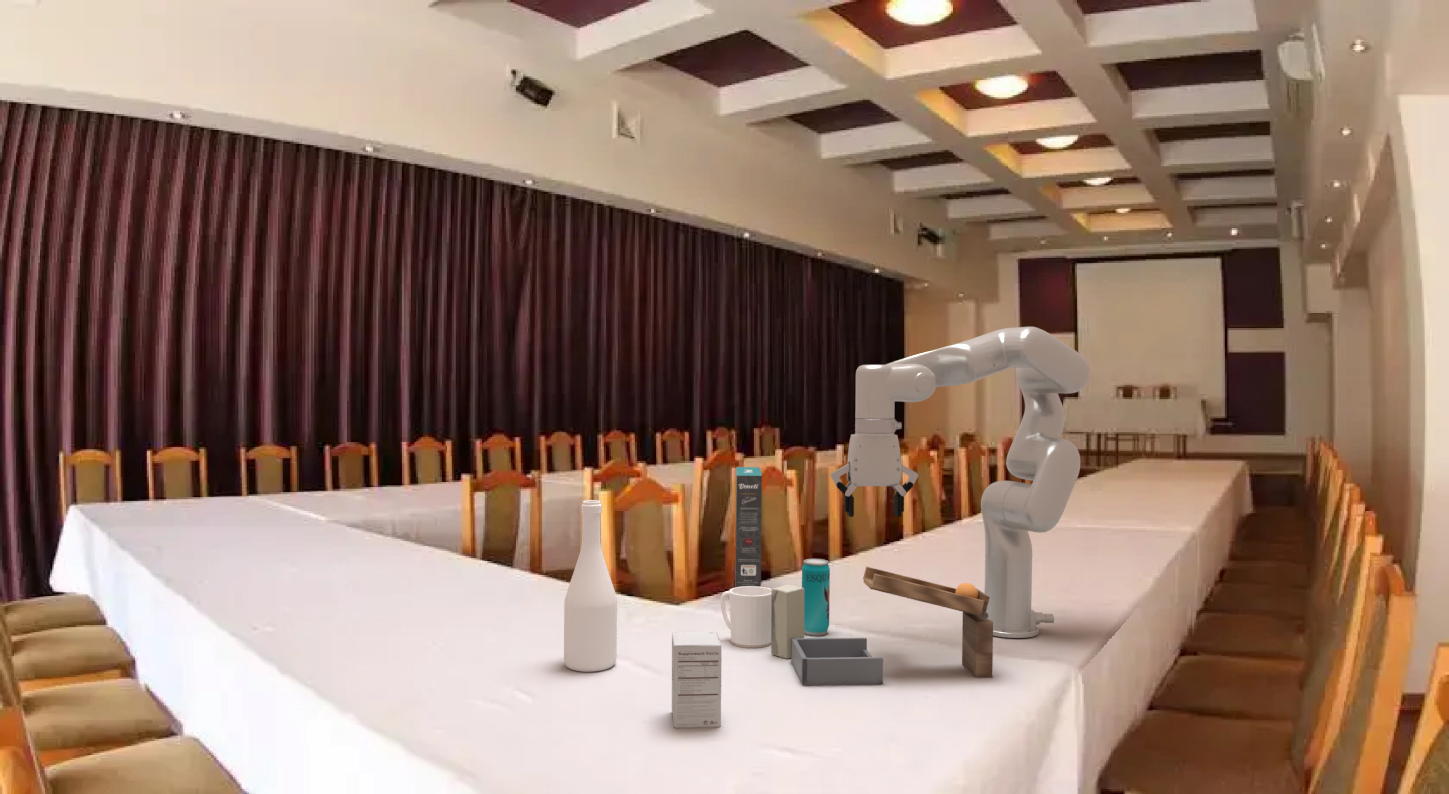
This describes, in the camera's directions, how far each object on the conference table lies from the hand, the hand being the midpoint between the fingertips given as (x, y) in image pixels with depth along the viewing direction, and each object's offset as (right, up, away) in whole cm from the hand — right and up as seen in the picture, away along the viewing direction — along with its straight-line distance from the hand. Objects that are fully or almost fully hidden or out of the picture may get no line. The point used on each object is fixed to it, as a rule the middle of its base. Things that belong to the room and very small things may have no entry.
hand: (874, 515), depth 180 cm
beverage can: (-10, -26, +11) cm, 30 cm away
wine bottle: (-54, -26, -12) cm, 61 cm away
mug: (-25, -26, +4) cm, 36 cm away
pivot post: (+17, -26, -13) cm, 34 cm away
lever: (+6, -13, -10) cm, 18 cm away
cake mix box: (-24, -25, +49) cm, 60 cm away
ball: (+15, -12, -14) cm, 23 cm away
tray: (-9, -26, -15) cm, 32 cm away
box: (-17, -26, -4) cm, 32 cm away
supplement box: (-34, -27, -39) cm, 58 cm away
